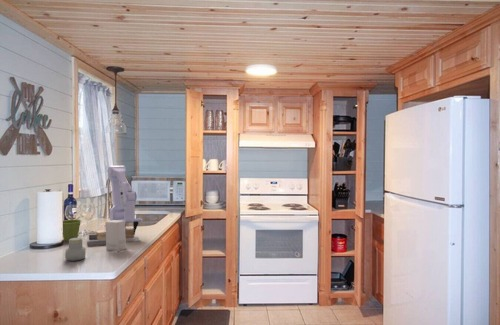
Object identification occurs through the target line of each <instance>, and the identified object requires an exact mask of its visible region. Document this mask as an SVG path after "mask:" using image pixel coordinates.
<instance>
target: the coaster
mask: <svg viewBox="0 0 500 325" xmlns="http://www.w3.org/2000/svg"><path fill="white" fill-rule="evenodd" d="M140 241H141V240H140V238H139V237H138V236H134V238H127V239H126V243H131V242H140Z"/></svg>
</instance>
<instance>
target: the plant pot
mask: <svg viewBox="0 0 500 325" xmlns="http://www.w3.org/2000/svg"><path fill="white" fill-rule="evenodd" d="M62 221H63V233H62V237H63V241H65V242H69V239H71V238H79V234H80V233H79V232H80V226H81V223H82V220H81V219H65V220H62Z"/></svg>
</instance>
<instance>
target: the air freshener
mask: <svg viewBox="0 0 500 325" xmlns="http://www.w3.org/2000/svg"><path fill="white" fill-rule="evenodd" d="M64 256H65V260H67V261H69V262H76V261H77V262H78V261H81V260H83V259H85V258H86V247H84V246H83V238H81V237H78V238H71V239H69V241H68V247H67V248H66V249H65V254H64Z"/></svg>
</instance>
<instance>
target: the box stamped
mask: <svg viewBox="0 0 500 325" xmlns="http://www.w3.org/2000/svg"><path fill="white" fill-rule="evenodd" d="M134 237H135V235H134V229H133V227H132V228H131V227H130V228H126V239H127V238H134Z"/></svg>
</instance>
